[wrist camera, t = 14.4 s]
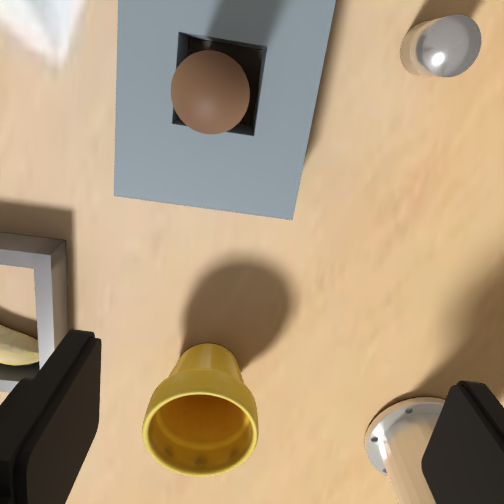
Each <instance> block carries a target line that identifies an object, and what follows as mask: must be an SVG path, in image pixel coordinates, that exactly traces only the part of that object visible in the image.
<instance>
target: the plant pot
mask: <svg viewBox="0 0 504 504" xmlns="http://www.w3.org/2000/svg"><path fill="white" fill-rule="evenodd" d="M142 436H143V441H144V444H145V447H146V449H147V450H148V452H149V454H150V455H151V456H152V457H153V458H154V459H155V460H156V461H157V462H158V463H159V464H161V465H162V466H164V467H165V468H167V469H169V470H171V471H173V472H176V473H179V474H182V475H187V476H194V477H207V476H215V475H219V474H223V473H226V472H228V471H231V470H233V469H235V468H236V467H238V466H239V465H241V464H242V463H243V462H245V461H246V460H247V459H248V458H249V456H250V455H251V454H252V452H253V451H254V449H255V447H256V444H257V440H258V416H257V408H256V403H255V400H254V397H253V395H252V393H251V392H250V390H249V389H248V388H247V386H246V385H245V384H244V382H243V379H242V376H241V373H240V370H239V367H238V363H237V361H236V358H235V357H234V355H233V354H232V353H231V352H230V351H229V350H227V349H226V348H224V347H222V346H220V345H217V344H211V343H205V344H199V345H196V346H193V347H191V348H189V349H188V350H187V351H185V352H184V353H183V354H182V356H181V357H180V359H179V360H178V362H177V364H176V366H175V367H174V369H173V370H172V372H171V374H170V375H169V377H168V378H167V379H165V380H164V381H163V382H162V383H161V384H160V385H159V386H158V387H157V388H156V389H155V391H154V393H153V394H152V397H151V399H150V402H149V405H148V408H147V411H146V414H145V418H144V422H143V427H142Z"/></svg>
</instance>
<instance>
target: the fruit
mask: <svg viewBox="0 0 504 504" xmlns="http://www.w3.org/2000/svg"><path fill="white" fill-rule="evenodd" d="M38 361H39V348H38V340H36V339H35V338H33V337H30V336H28V335H26V334H23V333H20V332H17V331H15V330H12V329H9V328H7V327H4V326H2V325H0V363H3V364H7V365H12V366H20V365H30V364H33V363H35V362H38Z"/></svg>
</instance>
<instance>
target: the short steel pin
mask: <svg viewBox="0 0 504 504" xmlns="http://www.w3.org/2000/svg"><path fill="white" fill-rule="evenodd" d="M480 47H481V33H480V30H479V27H478V25H477V24H476V22H475V21H474V20H473V19H471V18H470V17H468V16H466V15H461V14H455V15H450V16H446V17H442V18H438V19H434V20H429V21H425V22H422V23H419V24H417V25H415V26H414V27H412V28H411V29H410V30H409V31H408V32H407V34H406V35H405V37H404V39H403V41H402V44H401V48H400V57H401V61H402V64H403V66H404V67H405V69H406V70H407V71H408V72H410V73H411V74H414V75H418V76H435V77H453V76H456V75H459V74H461V73H463V72H464V71H466V70H467V69H468V68H469V67H470V66H471V65H472V64H473V63H474V61H475V60H476V58H477V56H478V54H479V51H480Z"/></svg>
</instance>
